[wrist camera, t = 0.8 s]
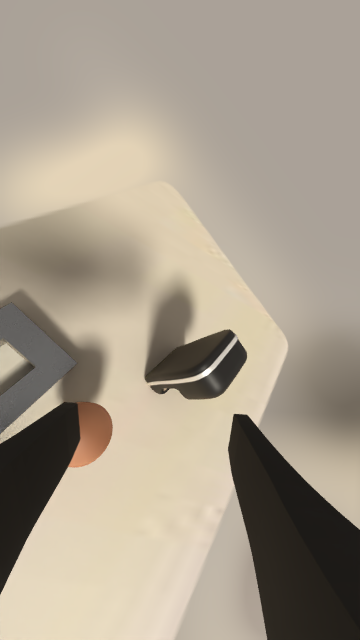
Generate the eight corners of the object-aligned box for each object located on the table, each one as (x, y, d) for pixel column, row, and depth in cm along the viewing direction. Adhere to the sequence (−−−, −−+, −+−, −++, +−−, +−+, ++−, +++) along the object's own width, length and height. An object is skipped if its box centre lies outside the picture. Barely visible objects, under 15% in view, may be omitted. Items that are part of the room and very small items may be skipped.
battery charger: (159, 404, 26) (225, 407, 17) (141, 379, 26) (197, 369, 17) (192, 367, 30) (259, 354, 21) (177, 346, 30) (237, 323, 21)
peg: (70, 459, 20) (81, 480, 15) (35, 431, 19) (34, 442, 14) (103, 419, 22) (123, 425, 17) (73, 392, 21) (84, 390, 16)
